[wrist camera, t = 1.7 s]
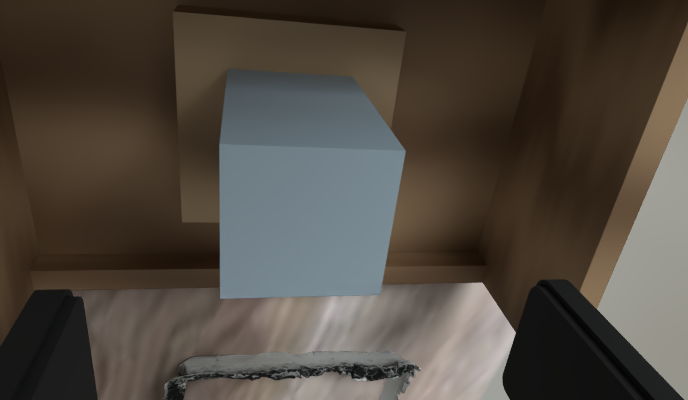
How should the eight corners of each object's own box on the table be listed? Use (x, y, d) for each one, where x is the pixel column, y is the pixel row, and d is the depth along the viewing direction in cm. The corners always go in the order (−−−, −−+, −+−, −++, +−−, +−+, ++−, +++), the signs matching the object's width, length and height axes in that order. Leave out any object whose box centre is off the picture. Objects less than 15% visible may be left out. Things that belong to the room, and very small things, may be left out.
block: (227, 68, 18) (219, 144, 12) (353, 76, 19) (405, 151, 13) (227, 184, 20) (220, 298, 14) (340, 186, 21) (379, 295, 15)
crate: (-63, -141, 16) (-307, -191, 9) (574, -57, 20) (749, -46, 13) (25, 262, 22) (-72, 414, 16) (484, 258, 27) (568, 375, 20)
